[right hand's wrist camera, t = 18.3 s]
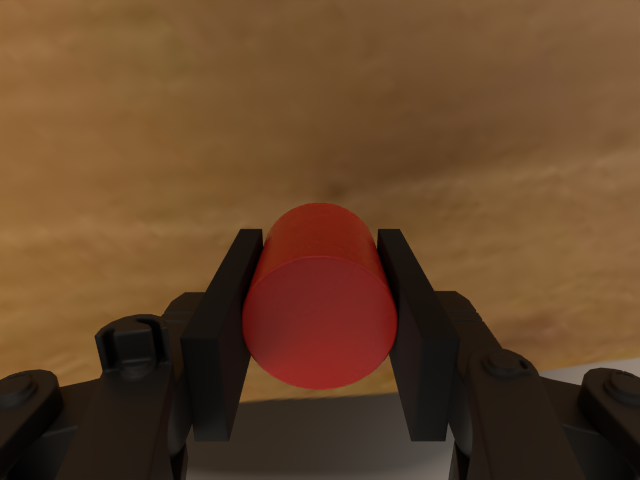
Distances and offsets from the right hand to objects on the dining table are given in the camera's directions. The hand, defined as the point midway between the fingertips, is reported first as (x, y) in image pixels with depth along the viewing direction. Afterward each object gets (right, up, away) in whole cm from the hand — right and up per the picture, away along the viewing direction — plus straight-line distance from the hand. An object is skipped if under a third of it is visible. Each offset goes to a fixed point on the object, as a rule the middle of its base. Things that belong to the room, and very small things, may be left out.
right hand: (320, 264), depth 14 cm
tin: (0, 0, 0) cm, 0 cm away
